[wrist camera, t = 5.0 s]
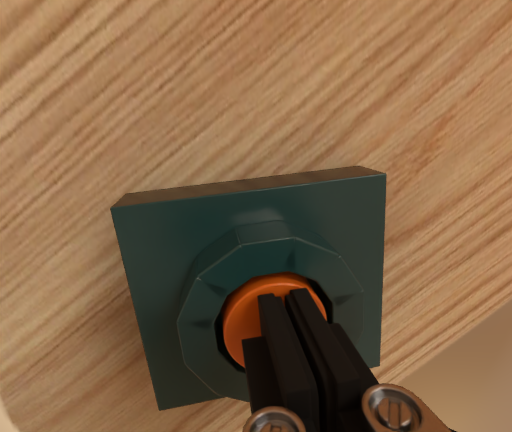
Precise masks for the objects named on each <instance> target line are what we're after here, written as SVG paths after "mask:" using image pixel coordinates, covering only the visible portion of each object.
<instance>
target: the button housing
mask: <svg viewBox="0 0 512 432" xmlns="http://www.w3.org/2000/svg"><path fill="white" fill-rule="evenodd" d="M385 203H386V173H383V172H379V171H376V170H372V169H369V168H365V167H362V166H353V167H345V168H336V169H328V170H319V171H311V172H303V173H294V174H286V175H278V176H269V177H261V178H253V179H244V180H236V181H228V182H219V183H211V184H203V185H194V186H186V187H178V188H169V189H161V190H153V191H144V192H136V193H128V194H125V195H124V196H123V197H122V198H121V199H120V200H118V201H117V202H116V203H115V204H114V205H113V206H112V207H111V208H110V210H111V214H112V218H113V222H114V227H115V231H116V235H117V239H118V243H119V247H120V251H121V256H122V260H123V264H124V268H125V272H126V276H127V280H128V285H129V289H130V293H131V297H132V301H133V305H134V309H135V313H136V318H137V322H138V326H139V330H140V334H141V338H142V342H143V347H144V351H145V355H146V359H147V363H148V367H149V371H150V375H151V380H152V384H153V388H154V392H155V396H156V400H157V404H158V409H159V411H161V410H166V409H171V408H176V407H181V406H186V405H191V404H196V403H201V402H205V401H210V400H215V399H220V398H225V397H228V398H233V399H237V400H241V401H246V402H250V399H249V393H248V386H247V379H246V372H245V367H243V366H241V365H240V364H239V363H237V362H236V361H235V360H234V359H233V358H232V356H231V355H230V354H229V352H228V350H227V348H226V346H225V342H224V336H223V324H222V313H221V308H222V306H223V303H224V301H225V299H226V297H227V295H229V294H230V293H232V292H233V291H234V290H236V289H237V288H238V287H240V286H241V285H243V284H244V283H245V282H247V281H248V280H250V279H251V278H252V277H255V276H262V275H268V274H274V273H280V272H287V271H289V272H292V273H295V274H298V275H300V276H303V277H305V278H306V279H307V281H308V282H309V284H310V285H311V287H312V288H313V290H314V292H315V293H316V295H317V296H318V298H319V299H320V301H321V302H322V304H323V306H324V309H325V312H326V319H327V323H328V324H332V323H339V324H340V325H341V326H342V328H343V329H344V331H345V332H346V334H347V335H348V337H349V338H350V340H351V341H352V343H353V344H354V346H355V348H356V349H357V351H358V352H359V354H360V355H361V357H362V358H363V360H364V361H365V363H366V364H367V366H368V367H369V368H373V367H378V366H380V345H381V317H382V288H383V260H384V231H385Z"/></svg>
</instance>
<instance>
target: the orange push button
mask: <svg viewBox="0 0 512 432" xmlns="http://www.w3.org/2000/svg"><path fill="white" fill-rule="evenodd" d="M300 288H307V289H308V291H309V293H310V294H311V296H312V298H313V299H314V301H315V303H316V304H317V306H318V308H319V309H320V311H321V313H322V314H323V316H324V318H325V319H326V312H325V309H324V306H323V304H322V302H321V301H320V299H319V298H318V296H317V295H316V293H315V292H314V290H313V288H312V287H311V285H310V284H309V282H308V281H307V279H306V278H305V277H303V276H300V275H298V274H295V273H292V272H289V271H287V272H280V273H274V274H268V275H262V276H255V277H252V278H251V279H250V280H248V281H247V282H245V283H244V284H243V285H241V286H240V287H238V288H237V289H236V290H234V291H233V292H232V293H230V294H229V295H227V297H226V299H225V301H224V303H223V306H222V308H221V313H222V324H223V336H224V342H225V346H226V348H227V350H228V352H229V354H230V355H231V356H232V358H233V359H234V360H235V361H236V362H237V363H239V364H240V365H241V366H243V367H245V365H244V357H243V349H242V341H241V340H242V339H248V338H253V337H259V336H261V328H260V318H259V309H258V299H257V296H258V295H263V294H270V293H274V295H275V297H278V296H280V297H281V299H282V301H283V303H284V306H285V295H290V290H294V289H300ZM326 321H327V319H326Z"/></svg>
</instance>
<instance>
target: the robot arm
mask: <svg viewBox="0 0 512 432" xmlns="http://www.w3.org/2000/svg"><path fill="white" fill-rule="evenodd" d="M257 299H258V309H259V318H260V328H261V336H259V337H253V338H248V339H242V340H241V341H242V349H243V357H244V365H245V372H246V379H247V386H248V393H249V399H250V406H251V413H252V415H251V416H250V417H249V418H248V420H247V422H246V423H245V425H244V427H243V431H242V432H456V431H454V430H452V429H450V428H448V427H447V426H446V425H445V424H444V423H443V422H442V421H441V420H440V419H439V418H438V417H437V416H436V415H435V414H434V413H433V412H432V411H431V410H430V409H429V408H428V406H426V404H425V403H424V402H423V401H422V400H421V399H419V397H417V396H416V395H415V394H414V393H413V392H411V391H409V390H407V389H405V388H403V387H401V386H398V385H394V384H385V383H382V384H379V383H378V381H377V380H376V378H375V377H374V375H373V373H372V372H371V370H370V369H369V367H368V366H367V364H366V363H365V361H364V360H363V358H362V357H361V355H360V354H359V352H358V351H357V349H356V348H355V346H354V344H353V343H352V341H351V340H350V338H349V337H348V335H347V334H346V332H345V331H344V329H343V328H342V326H341V325H340V324H339V323H332V324H328V323H327V321H326V319H325V318H324V316H323V314H322V313H321V311H320V309H319V308H318V306H317V304H316V303H315V301H314V299H313V298H312V296H311V294H310V293H309V291H308V289H307V288H300V289H294V290H290V295H285V306H284V303H283V301H282V299H281V297H280V296H278V297H275V295H274V293H270V294H263V295H258V296H257Z"/></svg>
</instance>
